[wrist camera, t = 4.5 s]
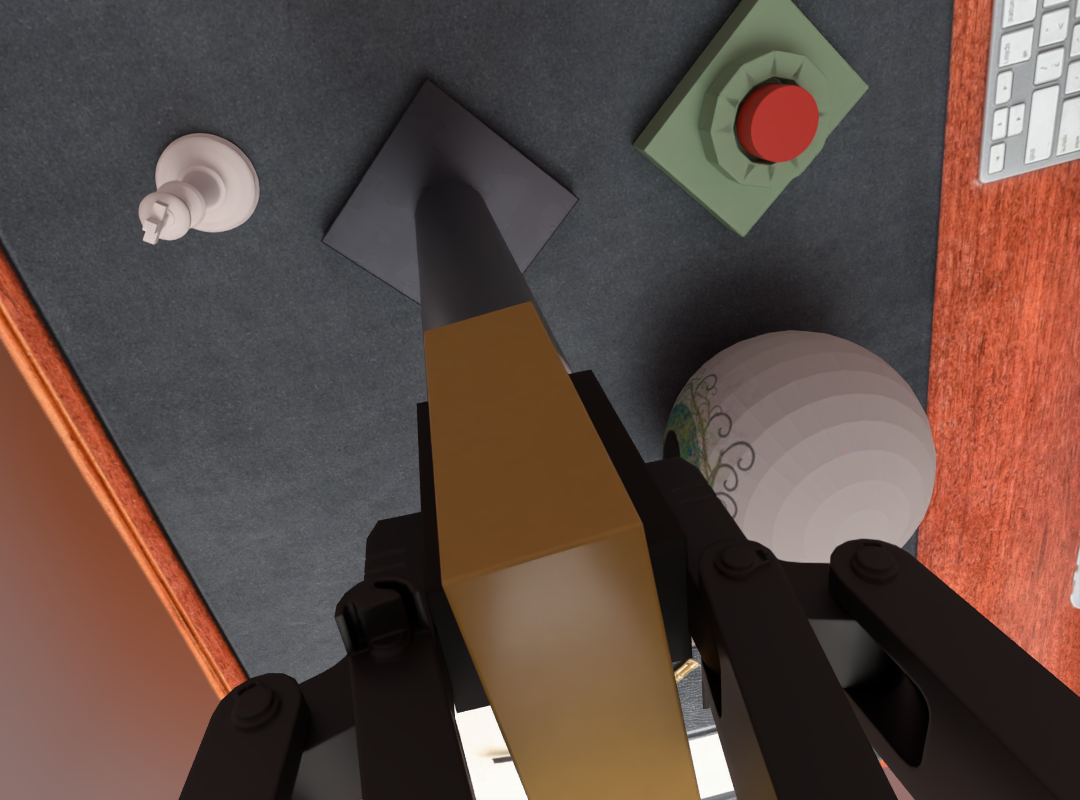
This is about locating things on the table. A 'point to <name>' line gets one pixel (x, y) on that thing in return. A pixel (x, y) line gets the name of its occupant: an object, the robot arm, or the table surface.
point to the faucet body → (450, 214)
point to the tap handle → (549, 570)
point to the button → (777, 122)
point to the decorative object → (807, 443)
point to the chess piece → (199, 189)
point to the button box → (718, 94)
